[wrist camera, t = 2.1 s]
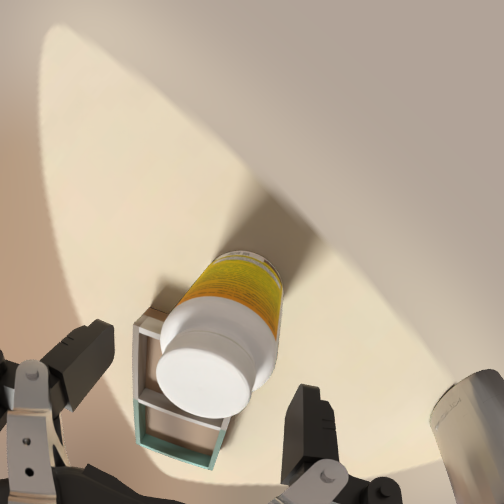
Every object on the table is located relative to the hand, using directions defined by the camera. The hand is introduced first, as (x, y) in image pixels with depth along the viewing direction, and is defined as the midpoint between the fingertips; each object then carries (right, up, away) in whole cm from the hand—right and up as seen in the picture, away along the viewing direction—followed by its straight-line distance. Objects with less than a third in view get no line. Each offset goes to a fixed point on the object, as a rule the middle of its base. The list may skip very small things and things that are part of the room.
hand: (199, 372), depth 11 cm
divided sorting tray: (-4, -8, +13) cm, 16 cm away
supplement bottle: (+2, +2, +9) cm, 10 cm away
